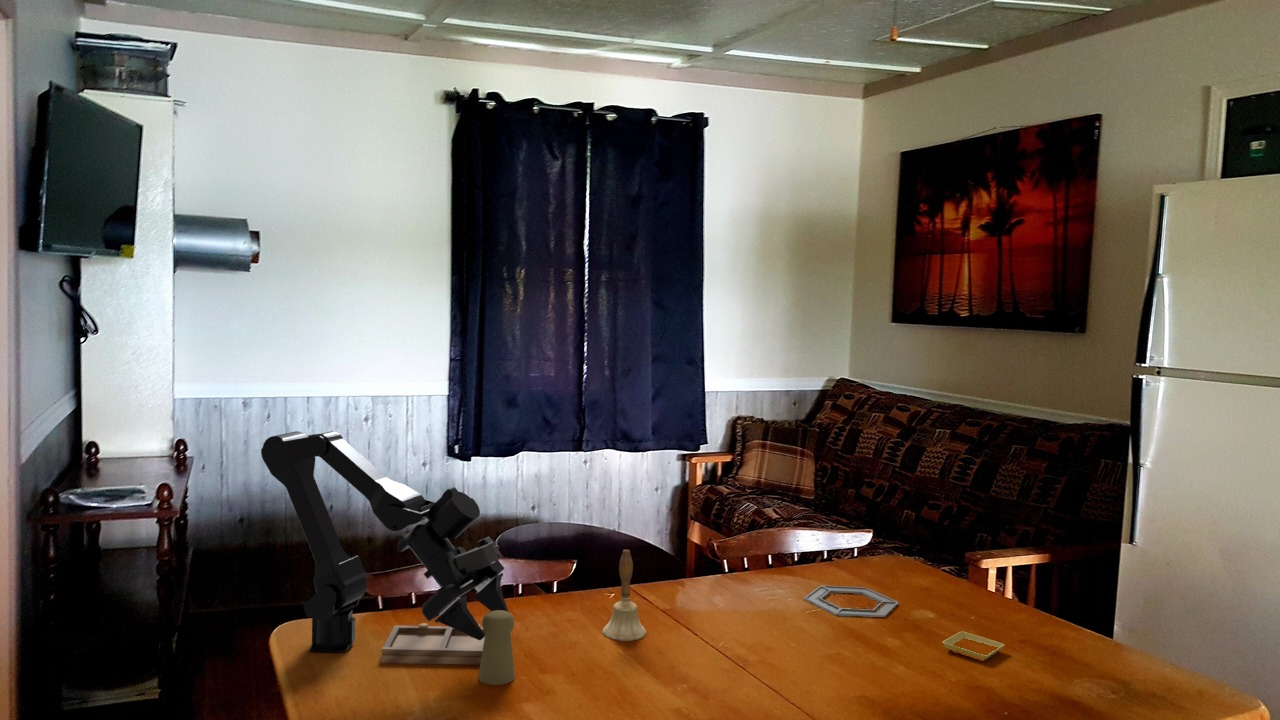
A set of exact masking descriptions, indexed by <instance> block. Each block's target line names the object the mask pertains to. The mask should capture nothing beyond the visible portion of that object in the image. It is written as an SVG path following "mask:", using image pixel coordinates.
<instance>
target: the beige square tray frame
mask: <svg viewBox="0 0 1280 720" xmlns="http://www.w3.org/2000/svg"><path fill="white" fill-rule="evenodd" d="M963 638H965V639H968V640H973V641H976V642H979V643H984V644H987V645H990V646H994V647H998V648H997V649H996V650H994V651H992V652H991V653H989V654H988V655H983V654H979V653H976V652H973V651H970V650H967V649H964V648H960V647H957V646H954V645H953V644H955V643H956V642H958V641H960V640H961V639H963ZM942 644H943V645H944V647H945V648H946V649H947V648H948V649H951V650H955V651H959V652H962V653H965V654H969V655H972V656H975V657H979V658H982V659H986V658H988V657H989V656H991V655H993V654H994V653H996V652H997V651H999V650H1000V651H1001V650H1002V649H1003V648H1004V647H1005V644H1004V643H1002V642H999V641H997V640H993V639H989V638H986V637H984V636H980V635H977V634H972V633H971V632H970V633H969V632H966V631H959V632H956V633H955V634H953V635H952V636H950V637H948V638H946V639H945V640H942ZM948 649H947V650H948ZM1000 651H999V652H1000ZM996 654H997V653H996ZM994 655H995V654H994ZM994 655H993V656H994ZM991 657H992V656H991ZM988 659H989V658H988ZM986 660H987V659H986Z"/></svg>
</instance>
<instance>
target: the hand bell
mask: <svg viewBox="0 0 1280 720" xmlns="http://www.w3.org/2000/svg"><path fill="white" fill-rule="evenodd" d="M618 566H619V567H618V571H619V578H620V580H621V581H620V582H621V589H620V597H621V598H620V600H619V601H617V602H616V603H614V604H613V609H612V610H613V611H612V613H611V617H610V620H609V621H608V623H607V624H606V625H605V626H604V627H603V628H602V630H601V631H602V634H603V635H604V636H605V637H606V638H608V639H610V640H613V641H621V642H630V641H637V640H640V639H643V638H644V637H646V635H647V631H646V629H645V627H644V626H643V625H642V623H641V621H640V619H639V613H638V605H637V604H636V603H635V602H633V601H631V593H630V592H631V588H630V586H631V579H632V576H633V571H634V562H633V559H632V555H631V551H630V549H623V550H622V554H621V556H620V560H619V565H618Z"/></svg>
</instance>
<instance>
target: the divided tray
mask: <svg viewBox="0 0 1280 720" xmlns="http://www.w3.org/2000/svg"><path fill="white" fill-rule="evenodd" d="M477 624H478V623H477ZM478 625H479V627H480V628H481V630H482V632H483V634H484V636H485V631H484V630H483V626H481V625H482V624H478ZM484 639H485V637H484V638H483V639H482V640H477V639H475V638H473V637H471V636H469V635H467V634H465V633H463V632H461V631H459V630H457V629H454V628H452V627H449V626H447V625H444V626H443V625H442V626H441V625H429V624H428V623H425V622H423V623H420V624H418V625H394V626H393V628H392V630H391V631H390V633H389V635H388V637H387V639H386V640H385V643H384V644H383V646H382V648H381V655H380V663H381V664H421V665H422V664H426V665H427V664H429V665H431V664H434V665H479V666H480V663H481V657H482V651H483V645H484Z"/></svg>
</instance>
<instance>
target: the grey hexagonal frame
mask: <svg viewBox="0 0 1280 720" xmlns="http://www.w3.org/2000/svg"><path fill="white" fill-rule="evenodd" d="M830 593H834V594H842V593H853V594H852V595H861V594H862V595H861V596H863V595H864V597H865V596H867V597H866V598H868V597H869V598H868V599H870V598H871V599H870V600H872V599H873V601H874V600H876V601H875V602H877V601H878V602H877V603H879V602H881V603H879V604H876V606H875V607H874V608H873V609H867V608H866V609H851V608H842V607H840V606H838V605H836V604H834V603H832V602H830V601H827V600H825V598H827V597H828V596H829V595H831V594H830ZM828 594H829V595H828ZM827 595H828V596H827ZM824 597H825V598H824ZM823 598H824V599H823ZM805 600H806V601H805ZM803 601H805V602H807V601H808V602H807V603H809V602H810V603H809V604H811V603H812V604H811V605H813V604H814V605H813V606H815V605H816V606H815V607H817V606H818V607H817V608H819V607H820V608H819V609H821V608H822V609H821V610H823V609H824V610H823V611H825V610H826V611H825V612H827V611H828V612H827V613H829V612H830V613H829V614H831V613H832V614H831V615H833V614H834V615H833V616H835V615H838V616H837V617H851V616H865V617H864V618H872V617H885V616H886V615H887V614H888V613H889V612H890V611H891V610H892V609H893V608H894V607H895V606H896V605H898V606H899V601H897V600H895V599H892V598H890V597H888V596H886V595H883V594H882V593H879V592H877V591H875V590H872V589H870V588H867V587H859V586H840V585H820V586H818V587H817V588H816V589H814V590H812V592H810V593H809V594H807V595H806V596H805V597H804V600H803ZM884 603H885V604H886V605H885V604H884ZM881 605H882V606H883V605H884V606H883V607H880V606H881ZM895 608H896V607H895ZM895 608H894V609H895ZM877 609H880V610H877ZM894 609H893V610H894ZM893 610H892V611H893ZM892 611H891V612H892ZM873 612H874V613H873ZM875 612H876V613H875ZM891 612H890V613H891ZM890 613H889V614H890ZM889 614H888V615H889ZM888 615H887V616H888ZM887 616H886V617H887ZM886 617H885V618H886Z"/></svg>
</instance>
